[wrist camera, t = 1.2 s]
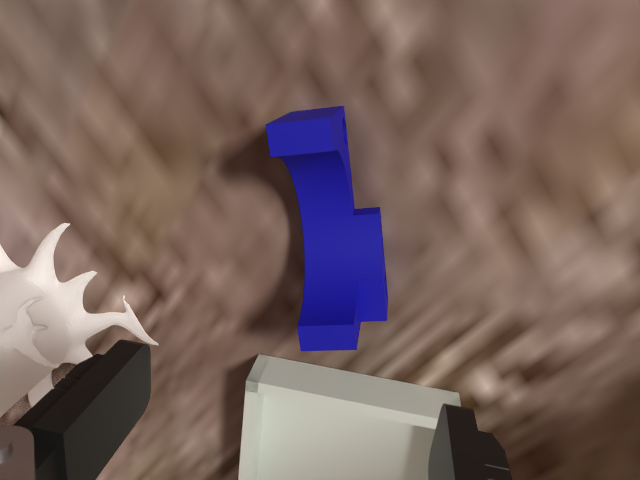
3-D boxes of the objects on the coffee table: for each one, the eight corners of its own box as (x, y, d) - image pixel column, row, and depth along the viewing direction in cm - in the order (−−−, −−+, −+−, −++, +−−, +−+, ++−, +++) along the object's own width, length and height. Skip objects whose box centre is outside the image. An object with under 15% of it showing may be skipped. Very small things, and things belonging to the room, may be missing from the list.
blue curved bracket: (387, 297, 31) (385, 348, 26) (318, 300, 32) (301, 351, 27) (371, 102, 28) (363, 113, 22) (292, 111, 28) (265, 124, 23)
